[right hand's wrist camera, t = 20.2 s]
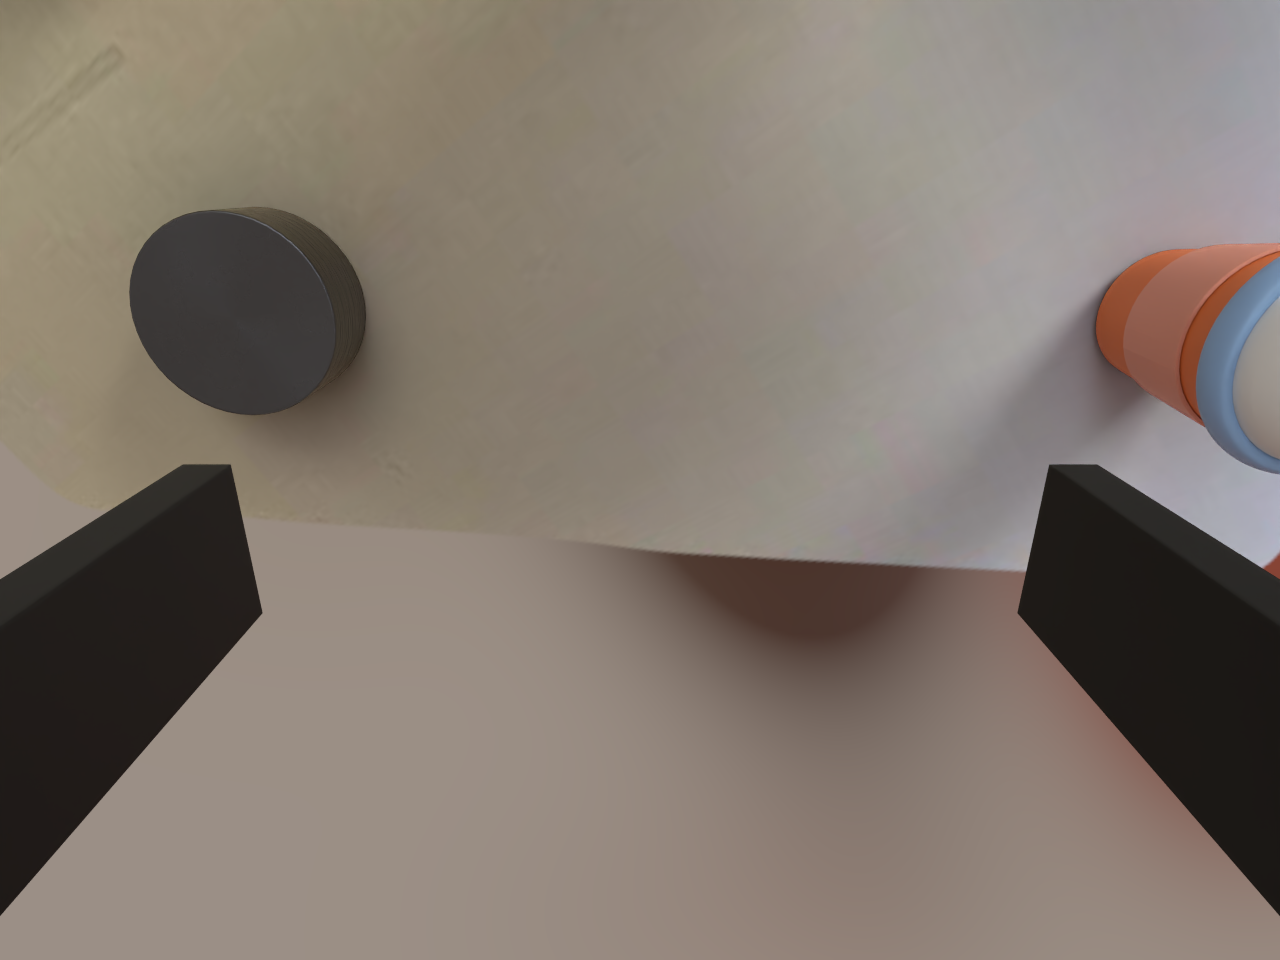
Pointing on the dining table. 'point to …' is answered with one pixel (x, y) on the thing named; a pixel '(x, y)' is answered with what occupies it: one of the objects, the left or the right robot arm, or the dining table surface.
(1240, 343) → the cup with straw
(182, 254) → the canister lid
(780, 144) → the dining table surface
